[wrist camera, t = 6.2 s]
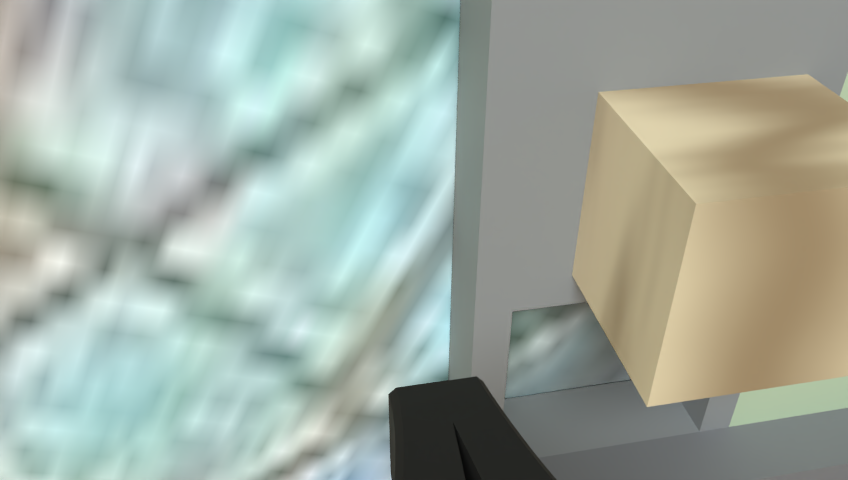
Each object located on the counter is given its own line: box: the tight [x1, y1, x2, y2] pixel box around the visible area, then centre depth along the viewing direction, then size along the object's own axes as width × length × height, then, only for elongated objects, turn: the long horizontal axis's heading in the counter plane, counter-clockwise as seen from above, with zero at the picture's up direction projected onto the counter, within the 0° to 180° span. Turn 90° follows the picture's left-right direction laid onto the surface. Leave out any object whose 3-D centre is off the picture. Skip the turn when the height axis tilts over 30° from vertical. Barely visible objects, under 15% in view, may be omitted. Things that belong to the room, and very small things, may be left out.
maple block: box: [572, 74, 848, 407], centre depth 17 cm, size 5×5×4 cm
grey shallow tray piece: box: [448, 0, 848, 480], centre depth 20 cm, size 16×21×4 cm
